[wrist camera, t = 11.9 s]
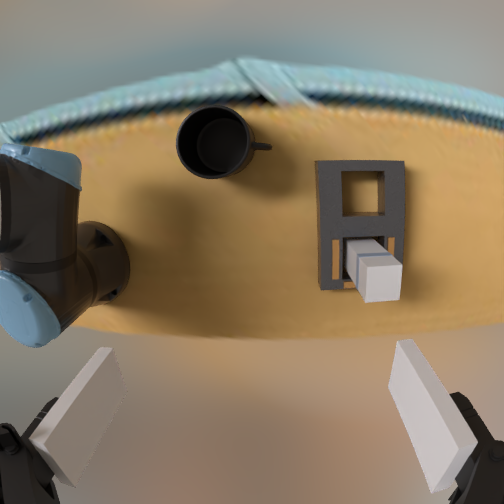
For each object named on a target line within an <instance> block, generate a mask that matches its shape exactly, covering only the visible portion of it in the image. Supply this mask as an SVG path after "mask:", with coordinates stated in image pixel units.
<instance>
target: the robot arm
mask: <svg viewBox="0 0 504 504" xmlns="http://www.w3.org/2000/svg"><path fill="white" fill-rule="evenodd" d="M81 169H82V165H81V161H80V159H79V158H78V157H77V156H76V155H74V154H71V153H67V152H61V151H55V150H50V149H43V148H37V147H29V146H23V145H17V144H10V143H4V144H3V145H2V147H1V149H0V324H1V325H2V326H3V328H4V329H5V330H6V332H7V333H9V335H10V336H12V337H13V338H14V339H15V340H17V341H18V342H20V343H21V344H23V345H26V346H28V347H33V348H35V347H36V348H38V347H42V346H44V345H46V344H47V343H49V342H50V341H51V340H52V339H55V338H57V337H58V336H59V335H60V334H61V333H62V332H63V331H64V330H65V329H66V328H67V327H68V326H69V325H70V324H72V323H73V322H74V321H75V320H76V319H77V318H78V317H79V316H80V315H81V314H82V313H84V312H85V311H86V310H87V309H88V308H89V307H93V306H98V305H103V304H106V303H109V302H111V301H112V300H114V299H115V298H116V297H117V296H118V295H120V294H121V293H122V291H123V290H124V289H125V287H126V285H127V283H128V280H129V274H130V263H129V258H128V254H127V251H126V249H125V247H124V245H123V243H122V241H121V240H120V238H119V237H118V236H117V234H116V233H115V232H114V231H112V230H111V229H110V228H109V227H107V226H106V225H104V224H101V223H99V222H95V221H85V222H81V223H79V224H78V210H79V196H80V191H82V187H81V186H80V185H81ZM388 388H389V390H390V393H391V395H392V397H393V399H394V402H395V404H396V406H397V408H398V411H399V413H400V416H401V418H402V420H403V423H404V425H405V427H406V430H407V432H408V435H409V437H410V439H411V442H412V444H413V447H414V449H415V452H416V454H417V457H418V459H419V462H420V464H421V467H422V470H423V472H424V475H425V478H426V480H427V483H428V486H429V488H430V491H431V493H434V492H437V491H441V490H444V489H446V488H449V487H450V485H451V484H452V483H453V481H454V480H456V482H457V485H458V487H457V488H456V490H455V491H454V492H453V494H452V495H451V496H450V498H449V499H448V500H451V501H450V503H449V504H504V442H503V441H498V440H494V438H493V437H492V435H491V433H490V432H489V430H488V429H487V427H486V426H485V424H484V422H483V421H482V419H481V418H480V416H479V415H478V413H477V412H476V410H475V409H473V406H472V404H471V403H470V401H469V400H468V398H467V397H465V396H464V395H462V394H461V393H460V392H456V393H452V394H448V392H447V390H446V389H445V387H444V385H443V384H442V382H441V381H440V379H439V378H438V376H437V375H436V373H435V372H434V370H433V369H432V367H431V366H430V364H429V363H428V361H427V360H426V358H425V357H424V355H423V354H422V353H421V351H420V350H419V348H418V347H417V345H416V344H415V342H414V341H413V339H406V340H399V341H397V344H396V351H395V356H394V361H393V366H392V371H391V376H390V380H389V386H388ZM127 392H128V391H127V388H126V386H125V383H124V380H123V377H122V374H121V371H120V368H119V365H118V362H117V359H116V356H115V352H114V349H113V348H106V347H100V348H99V349H98V350H97V351H96V353H95V354H94V355H93V357H91V359H90V360H89V361H88V362H87V364H86V365H85V366H84V368H83V369H82V370H81V371H80V372H79V374H78V375H77V376H76V377H75V379H74V380H73V381H72V382H71V384H70V385H69V387H68V388H67V389H66V390H65V391H64V393H63V394H62V395H61V397H60V398H57V397H55V398H54V399H52V400H51V401H49V402H48V403H47V404H46V405H45V406H44V408H43V409H42V410H41V412H40V413H39V414H38V415H37V418H35V419H34V420H33V422H32V423H31V424H30V426H29V427H28V428H27V430H26V431H25V432H24V433H23V435H22V436H21V437H20V436H19V434H18V433H17V431H16V429H15V428H14V427H13V426H12V425H11V424H8V423H2V424H0V504H60V501H59V498H58V495H57V491H56V488H55V485H54V482H53V481H52V477H53V476H54V474H55V476H56V477H57V478H58V479H59V481H60V482H61V483H64V484H67V485H70V486H72V487H76V486H77V484H78V482H79V480H80V478H81V476H82V474H83V472H84V470H85V468H86V467H87V465H88V463H89V461H90V459H91V457H92V455H93V453H94V452H95V450H96V448H97V446H98V444H99V442H100V440H101V439H102V437H103V435H104V433H105V431H106V429H107V427H108V426H109V424H110V422H111V420H112V419H113V417H114V415H115V413H116V411H117V410H118V408H119V406H120V404H121V402H122V401H123V399H124V397H125V395H126V394H127Z"/></svg>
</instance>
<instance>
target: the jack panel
mask: <svg viewBox="0 0 504 504" xmlns="http://www.w3.org/2000/svg"><path fill="white" fill-rule="evenodd" d="M341 171H377V177H378V212H353V213H342V182H341ZM315 175H316V197H317V228H318V283H319V286H320V289H321V290H334V289H351V288H356V286H355V284H354V282H353V281H352V279H351V277H350V276H349V274H348V272H342V258H343V237H365V236H378V241H377V243H379V244H380V245H381V246H382V247H383V248H384V249H385V250H387V251H388V252H390V253H391V254H392V255H393V257H394V258H396V259H397V260H398V261H399V262H400V263H401V264H403V248H404V225H405V166H404V161H384V160H334V161H315Z"/></svg>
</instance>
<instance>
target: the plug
mask: <svg viewBox="0 0 504 504" xmlns="http://www.w3.org/2000/svg"><path fill="white" fill-rule="evenodd" d="M402 266H403V265H402V264H401V263H400V262H399V261H398V260H397V259H396V258H394V257H393V255H392V254H391V253H390V252H388V251H387V250H385V249H384V248H383V247H382V246H381V245H380V244H379V243H377V242H376V241H375V240H374V239H373V238H372V237H361V238H344V267H345V269H346V270H347V272H348V274H349V276H350V277H351V279H352V281H353V282H354V284H355V286H356V289H357V290H358V291H359V293H360V294H361V296H362V298H363V300H364V301H365V303H368V302H380V301H392V300H399V298H400V289H401V278H402Z"/></svg>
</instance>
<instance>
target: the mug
mask: <svg viewBox="0 0 504 504" xmlns="http://www.w3.org/2000/svg"><path fill="white" fill-rule="evenodd" d="M176 149H177V153H178V156H179V159H180V161H181V162H182V164H183V165H184V166H185V168H186V169H187V170H188V171H190V172H191V173H193V174H194V175H196V176H199V177H202V178H206V179H218V178H223V177H227V176H230V175H233V174H236V173H238V172H240V171H241V170H243V169H244V168H245V167H246V166H247V165H248V164H249V163H250V161H251V160H252V158H253V155H254V152H255V150H271V149H272V146H271V145H270V144H265V143H257V142H255V137H254V134H253V132H252V130H251V128H250V127H249V125H248V124H247V123H246V122H245V120H244V119H243V118H242V117H241V116H240V115H239V114H238V113H237V112H235V111H234V110H232V109H230V108H228V107H225V106H220V105H209V106H204V107H201V108H199V109H197V110H195V111H193V112H192V113H191V114H189V115H188V116H187V117H186V118H185V119H184V121H183V122H182V124H181V126H180V128H179V130H178V133H177V138H176Z"/></svg>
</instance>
